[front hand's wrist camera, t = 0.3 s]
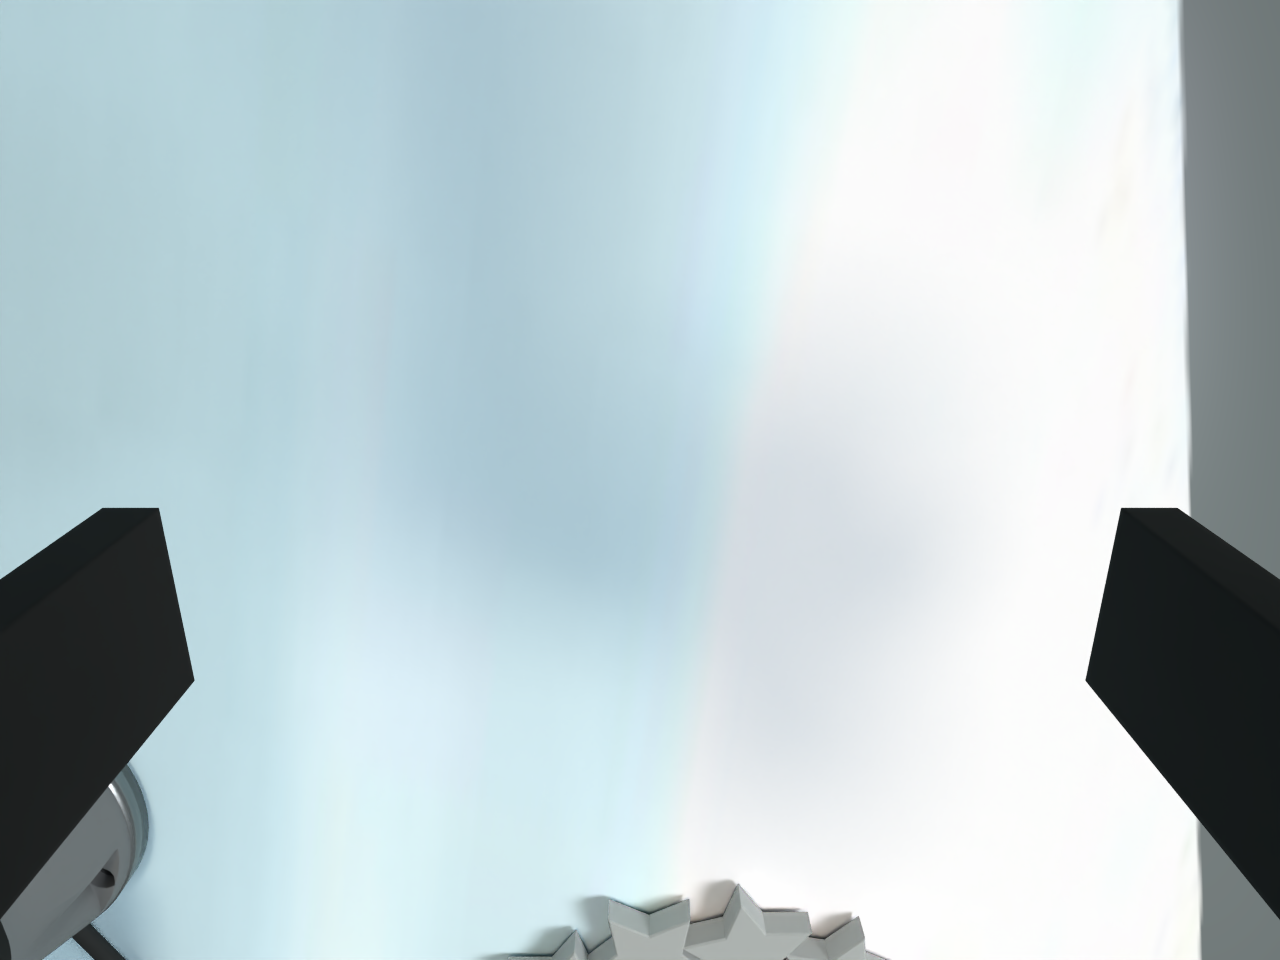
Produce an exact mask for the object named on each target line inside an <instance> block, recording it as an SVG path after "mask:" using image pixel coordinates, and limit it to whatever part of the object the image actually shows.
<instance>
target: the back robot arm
mask: <svg viewBox="0 0 1280 960" xmlns="http://www.w3.org/2000/svg"><path fill="white" fill-rule="evenodd" d="M147 840H148V815H147V809H146V804H145V801H144V798H143V795H142V792H141V790H140V787H139V785H138V783H137V781H136V779H135V777H134V775H133V774H132V772H131V770H130V769H129V767H128V766H127V764H126V765H125V767H124V768H123V769H122V770H121V772H120V773H119V774H118V775H117V777H116V778H115V779H114V780H113V781H112V783H111V784H110V785H109V786H108V788H107V789H106V790H105V791H104V793H103V794H102V795H101V796H100V797H99V799H98V800H97V801H96V802H95V804H94V805H93V806H92V807H91V809H90V810H89V811H88V812H87V813H86V815H85V816H84V817H83V818H82V820H81V821H80V822H79V823H78V825H77V826H76V827H75V828H74V829H73V831H72V832H71V833H70V834H69V836H68V837H67V838H66V839H65V841H64V842H63V843H62V844H61V845H60V847H59V848H58V849H57V850H56V852H55V853H54V854H53V855H52V857H51V858H50V859H49V860H48V861H47V863H46V864H45V865H44V866H43V868H42V869H41V870H40V871H39V873H38V874H37V875H36V876H35V877H34V879H33V880H32V881H31V882H30V884H29V885H28V886H27V887H26V889H25V890H24V891H23V892H22V893H21V895H20V896H19V897H18V898H17V900H16V901H15V902H14V903H13V905H12V906H11V907H10V908H9V909H8V911H7V912H6V913H5V914H4V916H3V917H2V918H1V919H0V960H42V959H44V958H45V957H46V956H48V955H49V954H50V953H51V952H53V951H54V950H55V949H57V948H58V947H59V946H61V945H62V944H63V943H65V942H66V941H67V940H69V939H70V938H71V937H72V938H73V939H74V940H75V941H76V942H77V943H78V944H79V945H80V946H81V947H82V948H83V949H84V950H85V951H86V952H87V953H88V954H89V955H90V956H91V957H92V958H93V959H94V960H125V959H124V958H123V957H122V956H121V955H120V954H119V953H118V952H117V951H116V950H115V949H114V948H113V947H112V946H111V945H110V944H109V942H108V941H107V940H106V939H105V938H104V937H103V936H102V935H101V934H100V933H99V932H98V931H97V930H96V929H95V928H94V927H93V926H92V925H91V924H90V923H91V922H92V921H93V920H95V919H96V918H97V917H98V916H99V915H101V914H102V913H103V912H104V911H105V910H106V909H107V908H109V906H110V905H111V904H112V903H113V902H114V901H115V900H116V898H117V897H118V895H119V894H120V893H121V891H122V890H123V888H124V887H125V885H126V884H127V882H128V881H129V880H130V878H131V877H132V875H133V874H134V872H135V871H136V869H137V868H138V866H139V864H140V862H141V860H142V858H143V855H144V852H145V849H146V845H147Z"/></svg>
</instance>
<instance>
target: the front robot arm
mask: <svg viewBox="0 0 1280 960" xmlns="http://www.w3.org/2000/svg"><path fill="white" fill-rule="evenodd" d="M1085 681H1086V682H1087V683H1088V684H1089V686H1090V687H1091V688H1092V689H1093V690H1094V692H1095V693H1096V694H1097V695H1098V697H1099V698H1100V699H1101V700H1102V702H1103V703H1104V704H1105V705H1106V706H1107V708H1108V709H1109V710H1110V711H1111V713H1112V714H1113V715H1114V716H1115V718H1116V719H1117V720H1118V721H1119V722H1120V724H1121V725H1122V726H1123V727H1124V729H1125V730H1126V731H1127V732H1128V734H1129V735H1130V736H1131V737H1132V738H1133V740H1134V741H1135V742H1136V743H1137V745H1138V746H1139V747H1140V748H1141V750H1142V751H1143V752H1144V753H1145V754H1146V756H1147V757H1148V758H1149V759H1150V761H1151V762H1152V763H1153V764H1154V765H1155V767H1156V768H1157V769H1158V770H1159V772H1160V773H1161V774H1162V775H1163V777H1164V778H1165V779H1166V780H1167V781H1168V783H1169V784H1170V785H1171V786H1172V788H1173V789H1174V790H1175V791H1176V793H1177V794H1178V795H1179V796H1180V797H1181V799H1182V800H1183V801H1184V802H1185V804H1186V805H1187V806H1188V807H1189V809H1190V810H1191V811H1192V812H1193V813H1194V815H1195V816H1196V817H1197V818H1198V820H1199V821H1200V822H1201V823H1202V825H1203V826H1204V827H1205V828H1206V829H1207V831H1208V832H1209V833H1210V834H1211V836H1212V837H1213V838H1214V839H1215V841H1216V842H1217V843H1218V844H1219V845H1220V847H1221V848H1222V849H1223V850H1224V852H1225V853H1226V854H1227V855H1228V857H1229V858H1230V859H1231V860H1232V861H1233V863H1234V864H1235V865H1236V866H1237V868H1238V869H1239V870H1240V871H1241V873H1242V874H1243V875H1244V876H1245V877H1246V879H1247V880H1248V881H1249V882H1250V884H1251V885H1252V886H1253V887H1254V889H1255V890H1256V891H1257V892H1258V893H1259V895H1260V896H1261V897H1262V898H1263V899H1264V901H1265V902H1266V903H1267V905H1268V906H1269V907H1270V908H1271V909H1272V911H1273V912H1274V913H1275V914H1276V916H1277V917H1278V918H1279V919H1280V579H1278V578H1277V577H1275V576H1274V575H1273V574H1271V573H1270V572H1268V571H1267V570H1265V569H1264V568H1263V567H1261V566H1260V565H1258V564H1257V563H1255V562H1254V561H1253V560H1251V559H1250V558H1248V557H1247V556H1245V555H1244V554H1243V553H1241V552H1240V551H1238V550H1237V549H1235V548H1234V547H1233V546H1231V545H1230V544H1228V543H1227V542H1225V541H1224V540H1223V539H1221V538H1220V537H1218V536H1217V535H1215V534H1214V533H1212V532H1211V531H1210V530H1208V529H1207V528H1205V527H1204V526H1202V525H1201V524H1200V523H1198V522H1197V521H1195V520H1194V519H1192V518H1191V517H1190V516H1188V515H1187V514H1185V513H1184V512H1182V511H1181V510H1180V509H1178V508H1121V511H1120V516H1119V521H1118V526H1117V531H1116V536H1115V540H1114V545H1113V550H1112V555H1111V560H1110V565H1109V569H1108V574H1107V579H1106V584H1105V589H1104V594H1103V598H1102V603H1101V608H1100V613H1099V618H1098V623H1097V627H1096V632H1095V637H1094V642H1093V647H1092V652H1091V656H1090V661H1089V666H1088V671H1087V676H1086V680H1085ZM193 682H194V676H193V671H192V666H191V661H190V656H189V652H188V647H187V642H186V637H185V632H184V627H183V623H182V618H181V613H180V608H179V603H178V598H177V594H176V589H175V584H174V579H173V574H172V569H171V565H170V560H169V555H168V550H167V545H166V540H165V536H164V531H163V526H162V521H161V516H160V511H159V508H102V509H100V510H99V511H98V512H96V513H95V514H93V515H92V516H90V517H89V518H88V519H86V520H85V521H83V522H82V523H80V524H79V525H78V526H76V527H75V528H73V529H72V530H70V531H69V532H67V533H66V534H65V535H63V536H62V537H60V538H59V539H57V540H56V541H55V542H53V543H52V544H50V545H49V546H47V547H46V548H45V549H43V550H42V551H40V552H39V553H37V554H36V555H35V556H33V557H32V558H30V559H29V560H27V561H26V562H25V563H23V564H22V565H20V566H19V567H17V568H16V569H15V570H13V571H12V572H10V573H9V574H7V575H6V576H5V577H3V578H2V579H0V919H1V918H2V917H3V916H4V914H5V913H6V912H7V911H8V909H9V908H10V907H11V906H12V905H13V903H14V902H15V901H16V900H17V898H18V897H19V896H20V895H21V893H22V892H23V891H24V890H25V889H26V887H27V886H28V885H29V884H30V882H31V881H32V880H33V879H34V877H35V876H36V875H37V874H38V873H39V871H40V870H41V869H42V868H43V866H44V865H45V864H46V863H47V861H48V860H49V859H50V858H51V857H52V855H53V854H54V853H55V852H56V850H57V849H58V848H59V847H60V845H61V844H62V843H63V842H64V841H65V839H66V838H67V837H68V836H69V834H70V833H71V832H72V831H73V829H74V828H75V827H76V826H77V825H78V823H79V822H80V821H81V820H82V818H83V817H84V816H85V815H86V813H87V812H88V811H89V810H90V809H91V807H92V806H93V805H94V804H95V802H96V801H97V800H98V799H99V797H100V796H101V795H102V794H103V793H104V791H105V790H106V789H107V788H108V786H109V785H110V784H111V783H112V781H113V780H114V779H115V778H116V777H117V775H118V774H119V773H120V772H121V770H122V769H123V768H124V767H125V765H126V764H127V763H128V762H129V761H130V759H131V758H132V757H133V756H134V754H135V753H136V752H137V751H138V749H139V748H140V747H141V746H142V745H143V743H144V742H145V741H146V740H147V738H148V737H149V736H150V735H151V734H152V732H153V731H154V730H155V729H156V727H157V726H158V725H159V724H160V722H161V721H162V720H163V719H164V718H165V716H166V715H167V714H168V713H169V711H170V710H171V709H172V708H173V706H174V705H175V704H176V703H177V702H178V700H179V699H180V698H181V697H182V695H183V694H184V693H185V692H186V690H187V689H188V688H189V687H190V686H191V684H192V683H193Z"/></svg>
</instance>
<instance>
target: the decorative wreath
mask: <svg viewBox="0 0 1280 960" xmlns="http://www.w3.org/2000/svg"><path fill="white" fill-rule="evenodd" d="M690 920H691V919H690V904H689V899H687V900H685V901H682V902H680V903H677V904H675V905H672V906H670V907H668V908H665V909H663V910H660V911H658V912H655V913H653V914H650V915H648V914H645V913H643V912H640V911H638V910H635V909H633V908H630V907H628V906H625V905H623V904H620V903H618V902H615V901H613V900H610V899H609V908H608V922H609V926H610V930H611V934H612V937H611V938H609V939H608V940H607V941H605V942H604V943H603V944H602V945H600V946H599V947H598V948H596V949H595V950H594V951H592V952H591V953H590V954H588V953H587V951H586V949H585V947H584V945H583V943H582V941H581V938H580V936H579V934H578V932H577V930H575V931H574V932H573V934H572V935H571V936H570V937H569V938H568V939H567V940H566V942H565V943H564V944H563V945H562V946H561V947H560V948H559V950H558V951H557V952H556V953H555V954H554V955H553V956H552V957H508V960H786V957H787V959H788V960H885V959H883V958H880V957H878V956H876V955H873V954H871V953H868V952H866V951H865V936H864V933H863V929H862V926H861V922H860V918H859V916H858V917H856V918H855V919H853V920H852V921H851V922H849V923H848V924H846V925H845V926H843V927H842V928H841V929H839V930H838V931H836V932H835V933H833V934H832V935H830V936H829V937H828V938H826V939H825V940H824V939H817V938H810V937H809V936H810V935H811V934H812V930H811V925H810V921H809V916H808V912H762V911H761V910H760V908H759V907H758V906H757V905H756V904H755V903H754V901H753V900H752V899H751V898H750V897H749V896H748V894H747V893H746V892H745V891H744V890H743V888H742V887H741V886H740V885H739V884H738V885H737V887H736V889H735V892H734V894H733V896H732V898H731V900H730V902H729V904H728V907H727V909H726V911H725V913H724V915H723V917H719V918H715V919H710V920H706V921H701V922H697V923H693V924H690Z"/></svg>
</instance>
